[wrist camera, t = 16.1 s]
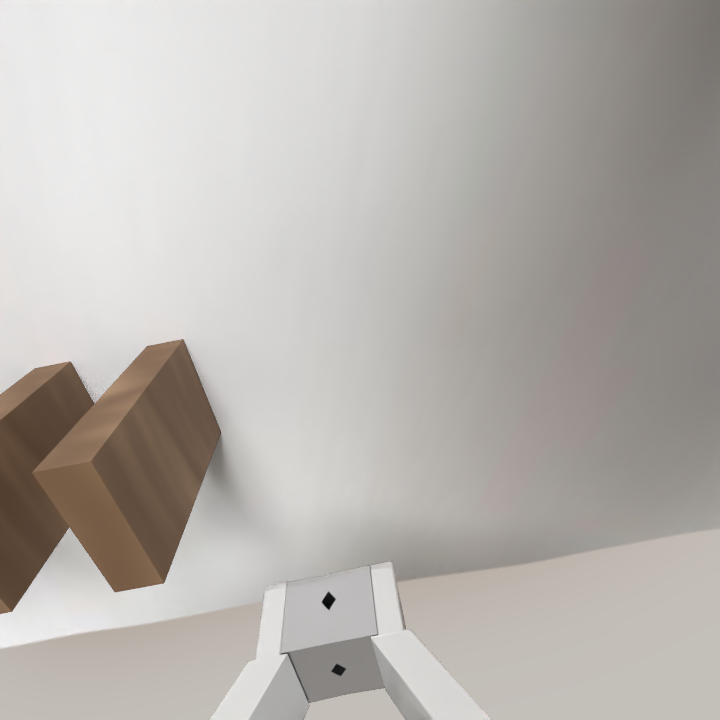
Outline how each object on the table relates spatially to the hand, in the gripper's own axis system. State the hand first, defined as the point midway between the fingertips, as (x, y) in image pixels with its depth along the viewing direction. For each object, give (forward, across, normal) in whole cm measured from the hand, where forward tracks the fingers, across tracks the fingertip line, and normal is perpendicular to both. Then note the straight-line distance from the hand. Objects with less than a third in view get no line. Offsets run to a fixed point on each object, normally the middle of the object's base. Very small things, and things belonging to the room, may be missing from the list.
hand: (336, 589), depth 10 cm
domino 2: (+11, +6, -1) cm, 13 cm away
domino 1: (+11, +12, -1) cm, 16 cm away
